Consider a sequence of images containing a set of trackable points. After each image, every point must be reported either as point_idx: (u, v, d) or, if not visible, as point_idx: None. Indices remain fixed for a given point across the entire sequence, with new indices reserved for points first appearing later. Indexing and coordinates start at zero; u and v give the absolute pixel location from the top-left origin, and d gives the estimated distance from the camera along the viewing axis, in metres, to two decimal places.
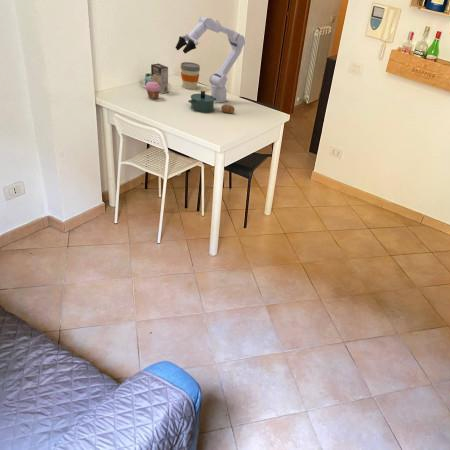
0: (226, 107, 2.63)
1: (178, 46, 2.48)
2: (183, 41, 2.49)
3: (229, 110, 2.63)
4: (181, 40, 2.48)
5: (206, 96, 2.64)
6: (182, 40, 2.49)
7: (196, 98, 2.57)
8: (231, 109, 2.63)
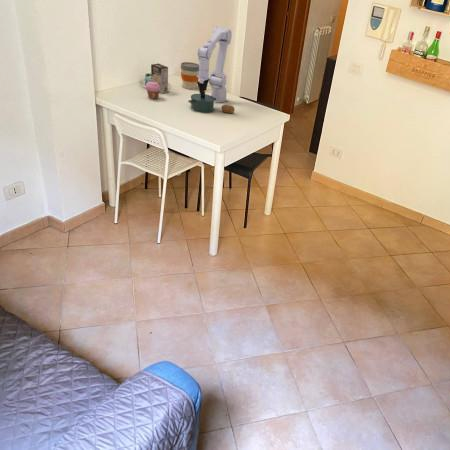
0: (226, 107, 2.63)
1: None
2: (204, 80, 2.59)
3: (229, 110, 2.63)
4: None
5: (206, 96, 2.64)
6: None
7: (196, 98, 2.57)
8: (231, 109, 2.63)
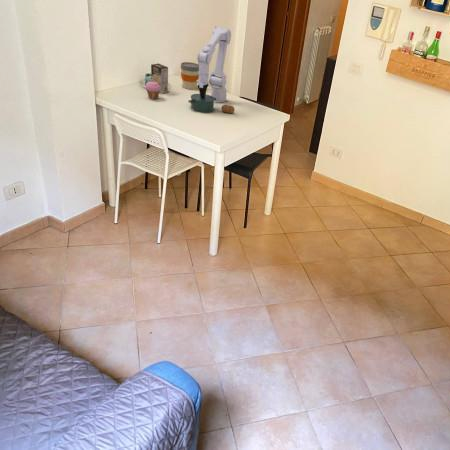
0: (226, 107, 2.63)
1: None
2: (203, 85, 2.59)
3: (229, 110, 2.63)
4: None
5: (206, 96, 2.64)
6: None
7: (196, 98, 2.57)
8: (231, 109, 2.63)
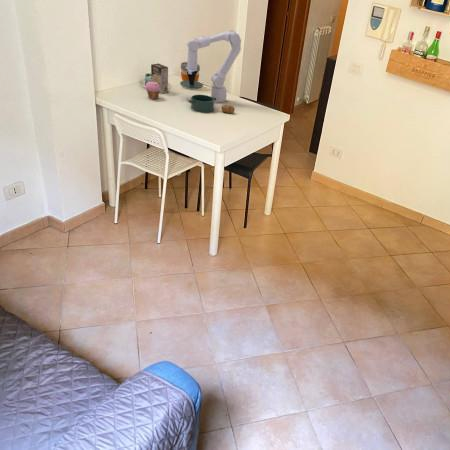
0: (226, 107, 2.63)
1: None
2: (192, 72, 2.69)
3: (229, 110, 2.63)
4: None
5: (195, 83, 2.73)
6: None
7: (185, 84, 2.67)
8: (231, 109, 2.63)
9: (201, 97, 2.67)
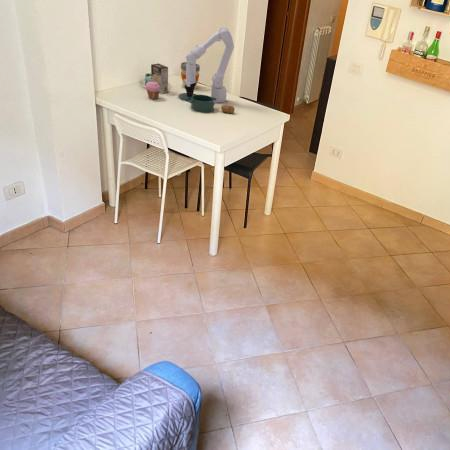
0: (226, 107, 2.63)
1: None
2: (191, 84, 2.76)
3: (229, 110, 2.63)
4: None
5: None
6: None
7: (184, 97, 2.73)
8: (231, 109, 2.63)
9: (201, 97, 2.67)
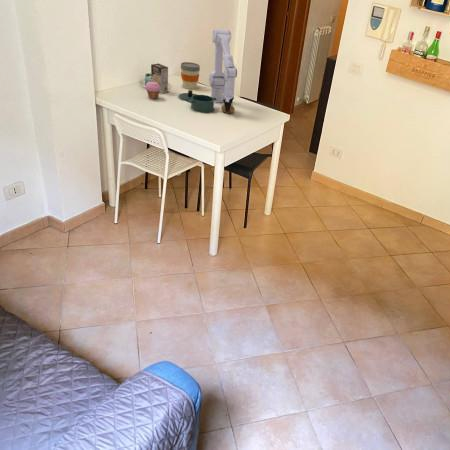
0: None
1: None
2: None
3: (229, 110, 2.63)
4: None
5: None
6: None
7: (184, 97, 2.73)
8: (231, 109, 2.63)
9: (201, 97, 2.67)
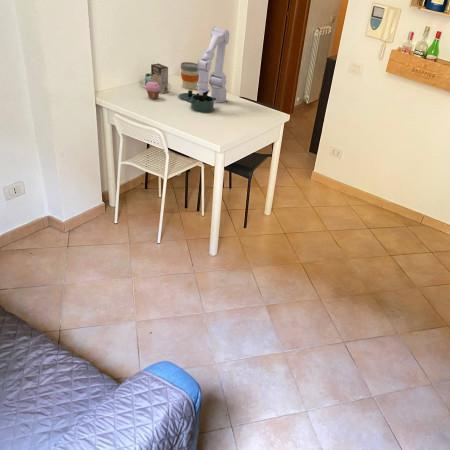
0: None
1: None
2: (203, 92, 2.63)
3: None
4: None
5: None
6: None
7: (184, 97, 2.73)
8: None
9: None
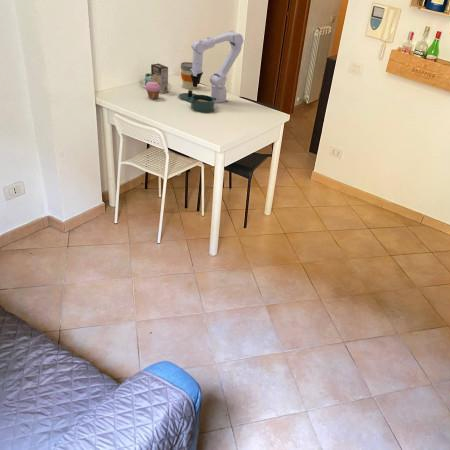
0: None
1: None
2: (197, 74, 2.68)
3: None
4: None
5: None
6: None
7: (184, 97, 2.73)
8: None
9: (201, 97, 2.67)
